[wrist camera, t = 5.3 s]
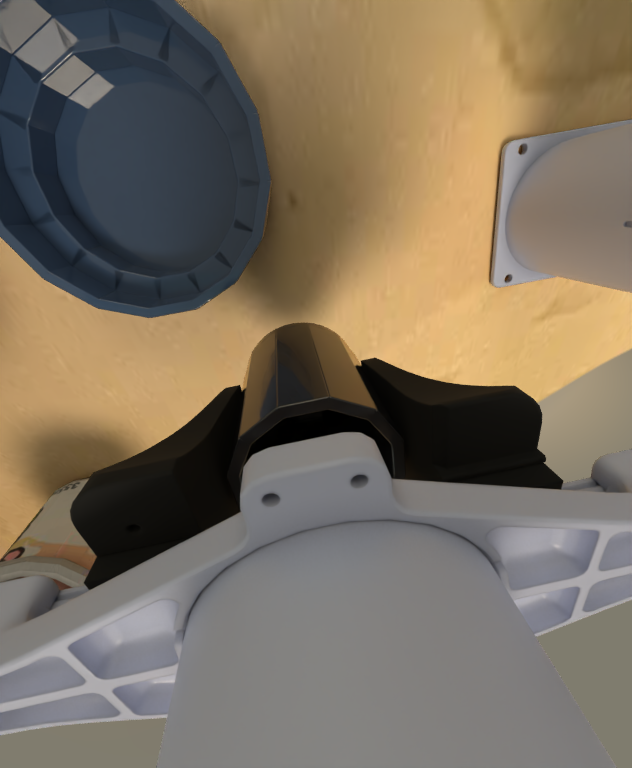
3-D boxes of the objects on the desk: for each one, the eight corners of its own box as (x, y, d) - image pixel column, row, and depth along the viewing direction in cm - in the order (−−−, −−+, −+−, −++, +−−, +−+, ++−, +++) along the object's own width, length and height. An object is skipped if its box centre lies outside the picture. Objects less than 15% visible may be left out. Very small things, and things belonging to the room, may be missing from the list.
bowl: (237, 5, 15) (223, -71, 11) (289, 276, 21) (292, 291, 17) (-30, 49, 15) (-144, -12, 11) (96, 312, 20) (52, 336, 16)
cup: (348, 311, 15) (401, 382, 9) (360, 408, 17) (408, 518, 11) (233, 334, 15) (203, 422, 8) (262, 429, 17) (254, 551, 11)
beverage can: (48, 451, 24) (-129, 634, 14) (169, 469, 26) (96, 642, 16) (52, 536, 28) (-85, 733, 17) (157, 547, 30) (92, 729, 19)
